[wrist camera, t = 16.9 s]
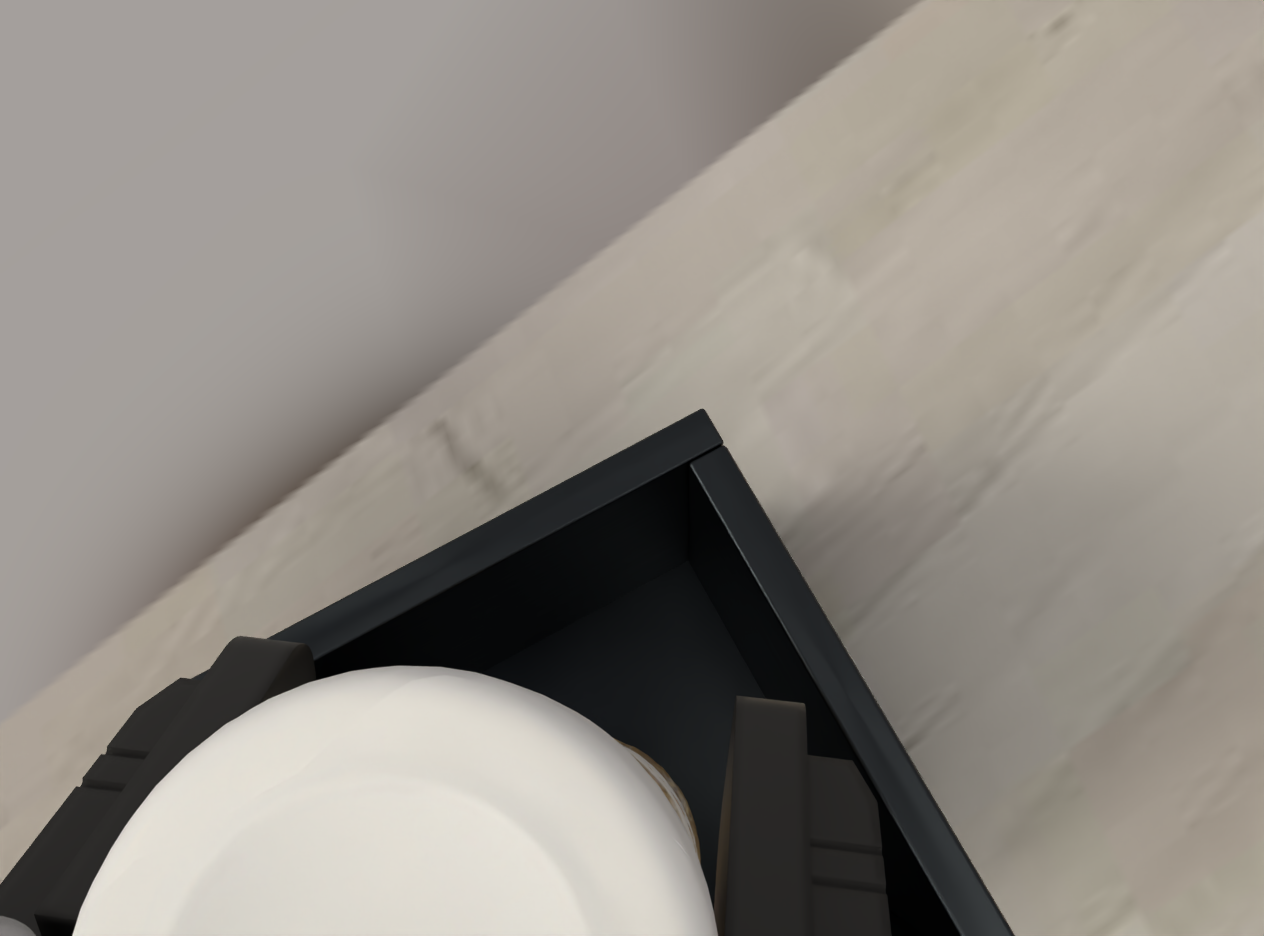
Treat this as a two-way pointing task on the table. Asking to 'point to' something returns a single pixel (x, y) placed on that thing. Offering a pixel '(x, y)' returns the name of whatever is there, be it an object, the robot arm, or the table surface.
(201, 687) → the robot arm
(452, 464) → the table surface
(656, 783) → the spice jar
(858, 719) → the bin
